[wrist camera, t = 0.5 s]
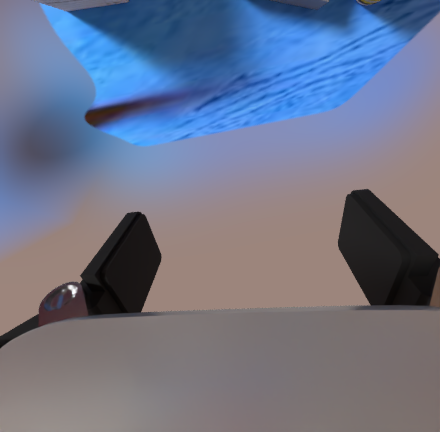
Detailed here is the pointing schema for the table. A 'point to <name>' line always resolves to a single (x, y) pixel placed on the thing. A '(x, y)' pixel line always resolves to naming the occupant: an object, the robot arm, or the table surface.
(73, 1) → the supplement box
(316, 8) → the bin
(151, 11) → the table surface
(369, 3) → the supplement bottle
